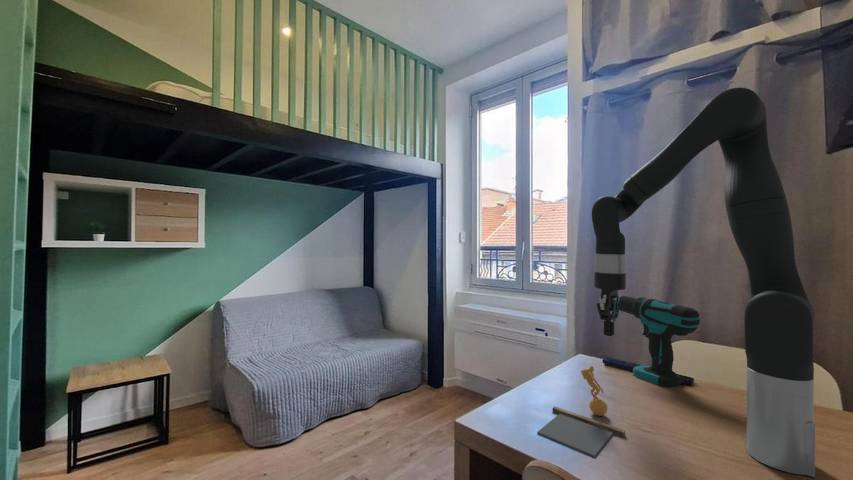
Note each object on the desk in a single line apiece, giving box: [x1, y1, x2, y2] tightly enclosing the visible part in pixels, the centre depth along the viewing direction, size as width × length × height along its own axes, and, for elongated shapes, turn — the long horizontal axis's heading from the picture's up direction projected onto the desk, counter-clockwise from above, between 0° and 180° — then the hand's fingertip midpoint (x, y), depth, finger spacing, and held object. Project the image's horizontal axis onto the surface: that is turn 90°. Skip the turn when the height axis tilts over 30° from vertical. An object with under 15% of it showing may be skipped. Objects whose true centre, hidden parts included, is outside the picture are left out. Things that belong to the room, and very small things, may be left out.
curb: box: [552, 405, 626, 438], centre depth 82 cm, size 16×1×1 cm, turn 46°
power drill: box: [619, 295, 701, 389], centre depth 111 cm, size 26×9×25 cm, turn 25°
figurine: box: [580, 365, 609, 417], centre depth 85 cm, size 8×6×12 cm
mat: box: [537, 414, 614, 458], centre depth 77 cm, size 12×12×1 cm
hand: (608, 335), depth 93 cm, fingers closed
